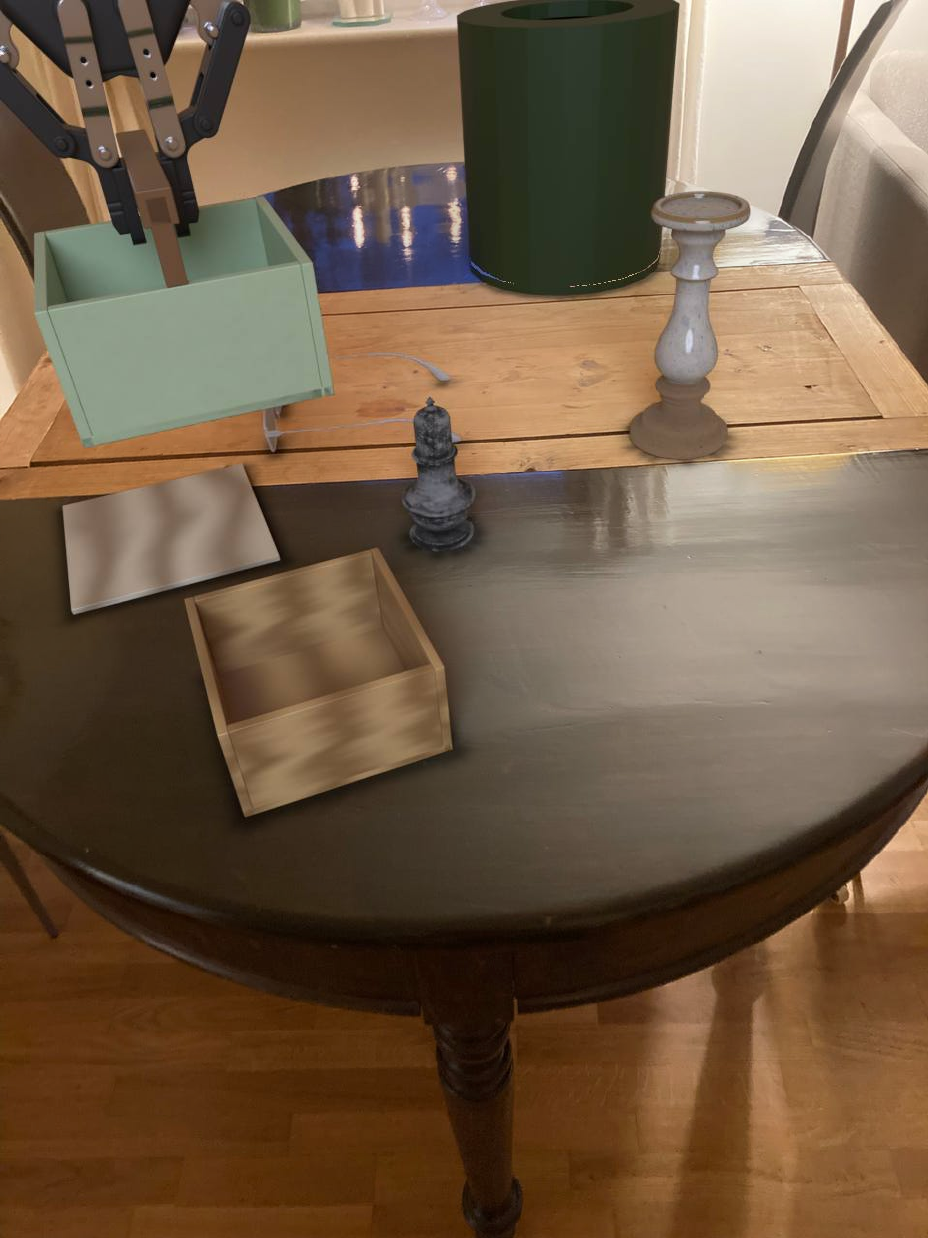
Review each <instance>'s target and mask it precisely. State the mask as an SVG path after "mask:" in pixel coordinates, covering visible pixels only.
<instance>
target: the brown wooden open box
mask: <svg viewBox="0 0 928 1238" xmlns="http://www.w3.org/2000/svg"><path fill="white" fill-rule="evenodd" d="M184 605H185V609H186V613H187V617H188V621H189V625H190V630H191V633H192V639H193V642H194V645H195V650H196V654H197V659H198V663H199V667H200V670H201V674H202V678H203V683H204V686H205V690H206V695H207V699H208V703H209V707H210V711H211V715H212V719H213V723H214V727H215V732H216V735H217V739H218V742H219V745H220V748H221V750H222V751H221V752H222V755H223V757H224V760H225V762H226V765H227V768H228V771H229V775H230V777H231V781H232V783H233V787H234V789H235V792H236V796H237V798H238V802H239V805H240V807H241V810H242V813H243V817H244V818H248V817H251V816H254V815H258V814H260V813H263V812H267V811H269V810H273V809H277V808H279V807H283V806H285V805H288V804H291V803H294V802H297V801H300V800H304V799H307V798H309V797H312V796H315V795H319V794H321V793H324V792H327V791H331V790H333V789H336V788H339V787H342V786H346V785H348V784H352V783H355V782H358V781H362V780H364V779H367V778H369V777H373V776H376V775H379V774H383V773H385V772H388V771H391V770H394V769H398V768H400V767H403V766H406V765H409V764H412V763H416V762H418V761H421V760H422V761H423V760H424V759H428V758H431V757H434V756H437V755H440V754H442V753H443V754H444V753H446V752H448V751H452V750H454V749H453V740H452V727H451V719H450V718H451V717H450V708H449V699H448V690H447V689H448V688H447V679H446V668H445V664H444V663H443V660H441V658H440V656H439V654H438V652H437V650H436V649H435V647H434V645H433V642H432V641H431V640H430V638H429V636H428V634H427V633H426V630H425V629H424V627H423V625H422V624H421V622H420V620H419V618H418V617H417V615H416V613H415V611H414V610H413V608H412V606H411V604H410V602H409V600H408V599H407V597H406V595H405V593H404V592H403V589H402V587H401V586H400V584H399V582H398V580H397V579H396V576H395V575H394V574H393V571H392V570H391V568H390V566H389V564H388V562H387V561H386V559H385V557H384V555H383V554H382V552H381V550H380V549H379V547H374V548H370V549H367V550H363V551H362V550H361V551H359V552H356V553H355V552H354V553H351V554H349V555H344V556H341V557H337V558H333V559H329V560H325V561H322V562H318V563H314V564H310V565H306V566H302V567H299V568H296V569H295V568H294V569H291V570H288V571H284V572H280V573H277V574H272V575H270V576H265V577H262V578H259V579H253V580H250V581H247V582H242V583H240V584H236V585H232V586H228V587H224V588H221V589H217V590H212V591H210V592H205V593H202V594H198V595H194V596H191V597H186V598H184Z"/></svg>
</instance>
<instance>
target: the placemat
mask: <svg viewBox="0 0 928 1238" xmlns="http://www.w3.org/2000/svg"><path fill="white" fill-rule="evenodd" d="M247 474H248V473H247V472H246V469H245V466H244V464H243V463H239V464H234V465H230V466H226V467H221V468H218V469H213V470H209V471H205V472H200V473H197V474H192V475H188V476H183V477H179V478H175V479H170V480H167V481H162V482H158V483H153V484H149V485H145V486H141V487H136V488H133V489H132V488H131V489H129V490H125V491H120V492H115V493H111V494H107V495H102V496H99V497H98V496H97V497H93V498H89V499H85V500H81V501H77V502H73V503H69V504H64V505H62V516H63V529H64V540H65V542H64V543H65V552H66V553H65V554H66V563H67V564H66V565H67V575H68V576H67V577H68V586H69V587H68V588H69V596H70V597H69V599H70V610H71V613H72V615H78V614H81V613H85V612H86V613H87V612H89V611H93V610H97V609H101V608H104V607H108V606H113V605H116V604H120V603H123V602H128V601H131V600H134V599H139V598H143V597H146V596H151V595H154V594H157V593H161V592H162V593H163V592H165V591H169V590H174V589H177V588H181V587H185V586H188V585H191V584H192V585H193V584H196V583H200V582H203V581H207V580H211V579H214V578H218V577H223V576H226V575H229V574H234V573H237V572H238V573H239V572H241V571H245V570H249V569H252V568H256V567H260V566H264V565H268V564H272V563H275V562H279V561H281V557H280V554H279V551H278V548H277V546H276V544H275V543H276V542H275V541H274V539H273V536H272V534H271V532H270V531H271V530H270V528H269V526H268V524H267V521H266V519H265V517H264V514H263V511H262V508H261V506H260V504H259V501H258V498H257V496H256V494H255V491H254V490H253V487H252V484H251V482H250V479H249V477H248V475H247Z"/></svg>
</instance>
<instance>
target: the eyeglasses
mask: <svg viewBox="0 0 928 1238" xmlns="http://www.w3.org/2000/svg"><path fill="white" fill-rule="evenodd" d="M366 356H371V357H373V356H393V357H394V356H395V357H400V358H401V357H402V358H405V359H409V360H412V361H413V362H416V363H418V364H419V365H420V366H423V367H425V368H426V369H428V370H429V371H430V373H431V374H432V375H433V376H434V377H435V378H436V379H437V380H438V381H440V382H449V381H451V380H452V377H451V375H449V374H448V373H447V372H445V371H443V370H442V369H441V368H439V367H437V366H435V365H434V364H431V363H429V362H427V361H425V360H422V359H419V358H417V357H413V356H411V355H406V354H403V353H397V352H371V353H365V354H355V355H354V354H353V355H343V356H333V357H329V360H335V359H343V358H353V357H354V358H355V357H366ZM282 408H283V406H279V407H274V408H270V409H265V410H262V427H263V431H264V437H265V439H266V441H267V444H268V447H269V449H270V452H271V453H275V452H276V450H277V443H278V437H281V435H282V434H291V433H302V432H312V431H313V432H314V431H325V430H331V429H332V430H333V429H342V428H351V427H360V426H368V425H369V426H370V425H379V424H385V423H386V424H387V423H397V422H398V423H399V422H400V423H412V424H413V419H412V418H411V419H410V418H391V419H383V420H377V421H372V422H367V423H366V422H365V423H360V424H359V423H358V424H350V425H343V426H333V427H323V428H321V427H320V428H312V429H300V430H289V431H281V430H280V429H277V422H276V416H277V418H278V419H279V420H281V416H280V414H281V413H282ZM451 432H452V444H455V443H459V442H461V441H462V439H463V438H462V436H461V435H459V434H458V433H456V432H454V431H452V430H451Z"/></svg>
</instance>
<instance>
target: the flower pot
mask: <svg viewBox="0 0 928 1238" xmlns="http://www.w3.org/2000/svg"><path fill="white" fill-rule="evenodd" d="M680 6H681V3H680V2H678V1H676V0H508V1H501V2H495V3H491V4H485V5H480V6H476V7H473V8H470V9H465V10H464V11H462V12H461V13H458V14H457V15H456V25H457V26H456V27H457V29H456V31H457V45H458V46H457V47H458V64H459V65H458V66H459V67H458V68H459V84H460V86H459V87H460V102H461V103H460V105H461V124H462V140H463V158H464V159H463V162H464V176H465V177H464V178H465V179H464V180H465V196H466V198H465V200H466V216H467V218H466V219H467V235H468V253H469V252H470V256H469V255H468V256H469V259H470V258H471V261H472V262H473V263H474V264H475V265H476V266H478V267H479V268H480V269H481V270H482V271H483V272H486V273H487V274H490V275H491V276H493V277H495V278H498V279H499V280H502V281H506V282H502V281H499V280H497V279H494V278H491V277H489V276H486V275H483V274H481V273H480V272H479V271H478V270H477V269H475V268H474V267H473V266H472V265H471V262H470V261H469V266H470V271H471V273H472V275H474V276H475V277H476V278H477V279H479V280H480V281H481V282H482V283H485V284H488V285H490V286H493V287H495V288H498V289H501V290H504V291H510V292H516V293H521V294H526V295H538V296H539V295H542V296H574V295H585V294H587V295H588V294H596V293H600V292H605V291H606V292H607V291H610V290H614V289H615V290H616V289H620V288H624V287H626V286H629V285H631V284H633V283H636V282H639V281H641V280H644V279H646V278H647V277H648V276H649V275H651V274H652V273H653V272H654V271H656V270H657V269H658V267H659V263H660V261H661V252H662V251H660V248H661V249H662V240H663V239H662V237H663V226H660V225H658V224H657V223H655V222H654V221H653V220H652V218H651V210H652V207H653V205H654V203H655V202H656V201H657V200H658V199H660V198H662V197H665V196H666V185H667V174H668V173H667V172H668V162H669V161H668V160H669V158H668V157H669V147H670V136H671V135H670V134H671V133H670V132H671V123H672V122H671V121H672V110H673V95H674V83H675V69H676V57H677V43H678V30H679V18H680ZM659 251H660V254H659ZM658 255H659V258H658ZM657 258H658V260H657V261H656V262H655V263H654V264H652V263H653V262H654V261H655V260H656V259H657ZM651 264H652V265H651ZM649 265H651V266H650V267H649V268H647V267H648V266H649ZM646 268H647V269H646ZM644 269H646V270H645V271H642V270H644ZM640 271H642V272H640ZM637 272H640V273H637ZM635 273H637V274H635ZM632 274H634V275H632ZM629 275H632V276H629ZM628 276H629V277H628ZM625 277H627V278H625ZM622 278H624V279H622ZM618 279H621V280H618ZM612 280H616V281H612ZM608 281H611V282H608ZM508 282H509V283H508ZM510 282H511V283H510ZM604 282H606V283H604ZM513 283H514V284H513ZM598 283H601V284H598ZM589 284H590V285H589ZM593 284H596V285H593ZM577 285H579V286H577ZM582 285H587V286H582ZM570 286H575V287H570Z"/></svg>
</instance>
